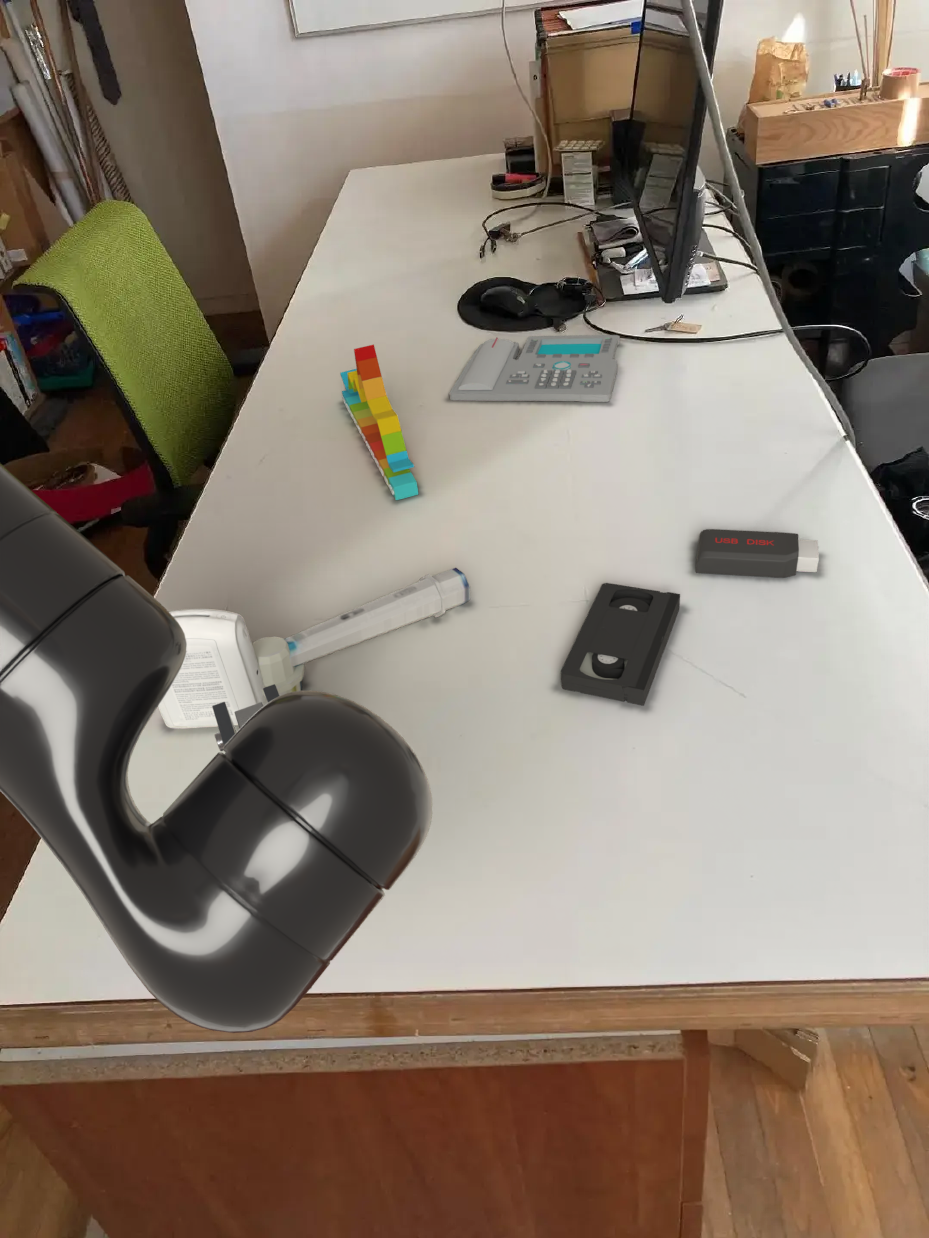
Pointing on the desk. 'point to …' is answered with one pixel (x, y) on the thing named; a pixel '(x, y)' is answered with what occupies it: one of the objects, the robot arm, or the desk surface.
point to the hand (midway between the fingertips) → (285, 816)
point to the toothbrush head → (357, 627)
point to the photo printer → (212, 670)
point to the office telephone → (541, 370)
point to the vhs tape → (621, 643)
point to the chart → (378, 422)
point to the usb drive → (755, 553)
